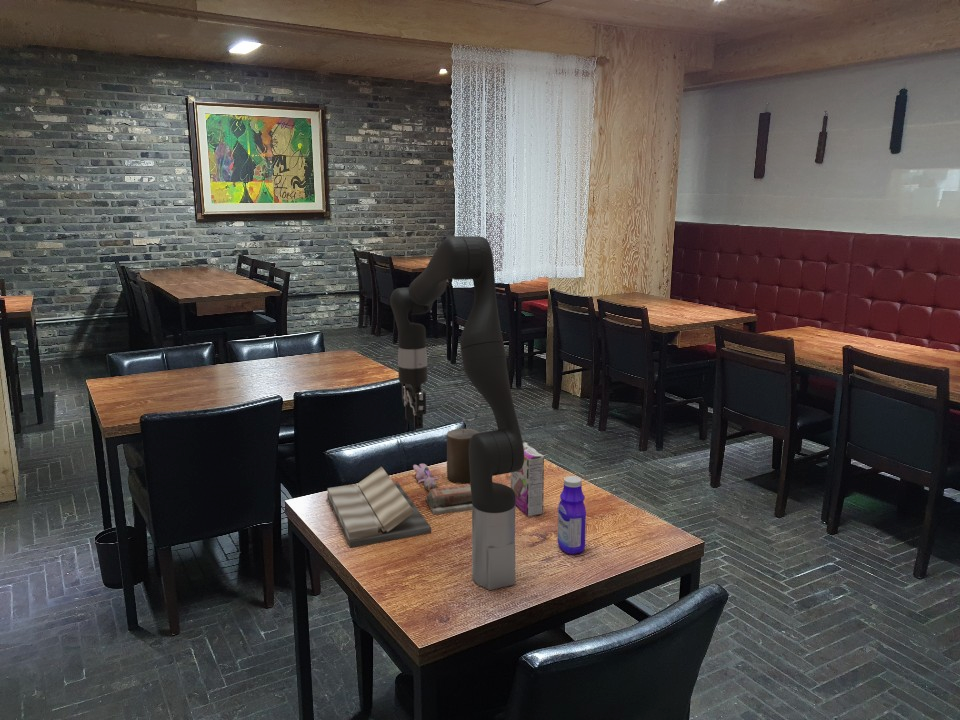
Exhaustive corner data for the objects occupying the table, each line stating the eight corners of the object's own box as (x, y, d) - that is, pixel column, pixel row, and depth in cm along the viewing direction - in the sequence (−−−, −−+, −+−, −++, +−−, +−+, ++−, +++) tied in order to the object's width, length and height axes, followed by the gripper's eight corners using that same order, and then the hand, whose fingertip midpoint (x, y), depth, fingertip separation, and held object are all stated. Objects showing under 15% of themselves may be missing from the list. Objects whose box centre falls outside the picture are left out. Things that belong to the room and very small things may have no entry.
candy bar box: (509, 500, 190) (509, 444, 186) (525, 498, 191) (526, 441, 188) (526, 517, 180) (527, 458, 176) (544, 514, 181) (545, 455, 178)
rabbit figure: (443, 494, 197) (427, 468, 210) (444, 476, 195) (427, 450, 208) (422, 497, 195) (407, 471, 208) (423, 479, 193) (407, 453, 206)
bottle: (553, 543, 166) (554, 475, 162) (574, 539, 168) (576, 471, 164) (567, 557, 160) (569, 486, 156) (589, 553, 161) (591, 483, 158)
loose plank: (414, 512, 170) (410, 506, 169) (384, 534, 168) (380, 528, 167) (385, 471, 195) (381, 466, 194) (359, 490, 193) (355, 485, 192)
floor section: (431, 532, 172) (430, 519, 171) (350, 547, 164) (349, 534, 163) (397, 487, 199) (397, 476, 198) (327, 498, 191) (326, 486, 190)
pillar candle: (475, 485, 200) (475, 435, 197) (442, 481, 202) (442, 432, 199) (482, 472, 209) (483, 425, 206) (451, 470, 212) (451, 422, 208)
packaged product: (433, 499, 180) (424, 484, 190) (433, 516, 181) (425, 501, 191) (499, 491, 185) (487, 477, 195) (498, 508, 186) (487, 493, 196)
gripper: (435, 368, 176) (436, 430, 179) (418, 356, 189) (419, 414, 192) (406, 371, 173) (408, 434, 177) (391, 359, 186) (393, 418, 190)
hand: (414, 424), depth 184 cm, fingers open, 7 cm apart
